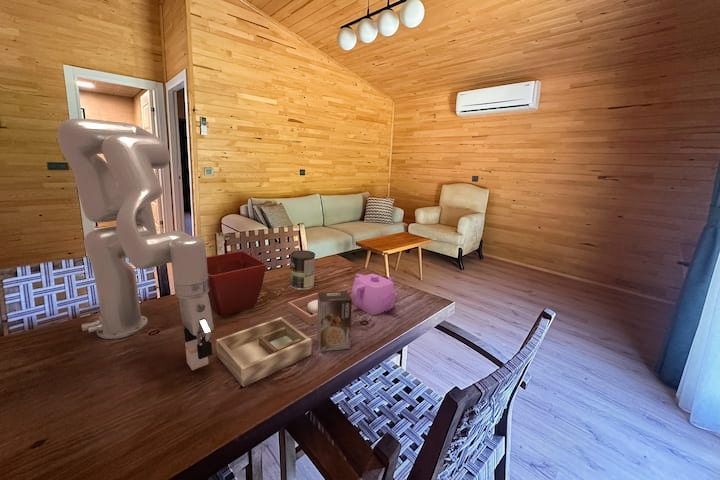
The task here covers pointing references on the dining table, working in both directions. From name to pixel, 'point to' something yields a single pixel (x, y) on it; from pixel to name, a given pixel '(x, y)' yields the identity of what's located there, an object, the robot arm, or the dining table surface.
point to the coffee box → (334, 320)
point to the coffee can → (302, 269)
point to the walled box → (262, 350)
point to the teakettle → (373, 293)
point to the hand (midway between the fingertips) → (198, 348)
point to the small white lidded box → (194, 355)
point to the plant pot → (234, 282)
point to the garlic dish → (294, 308)
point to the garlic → (313, 306)
